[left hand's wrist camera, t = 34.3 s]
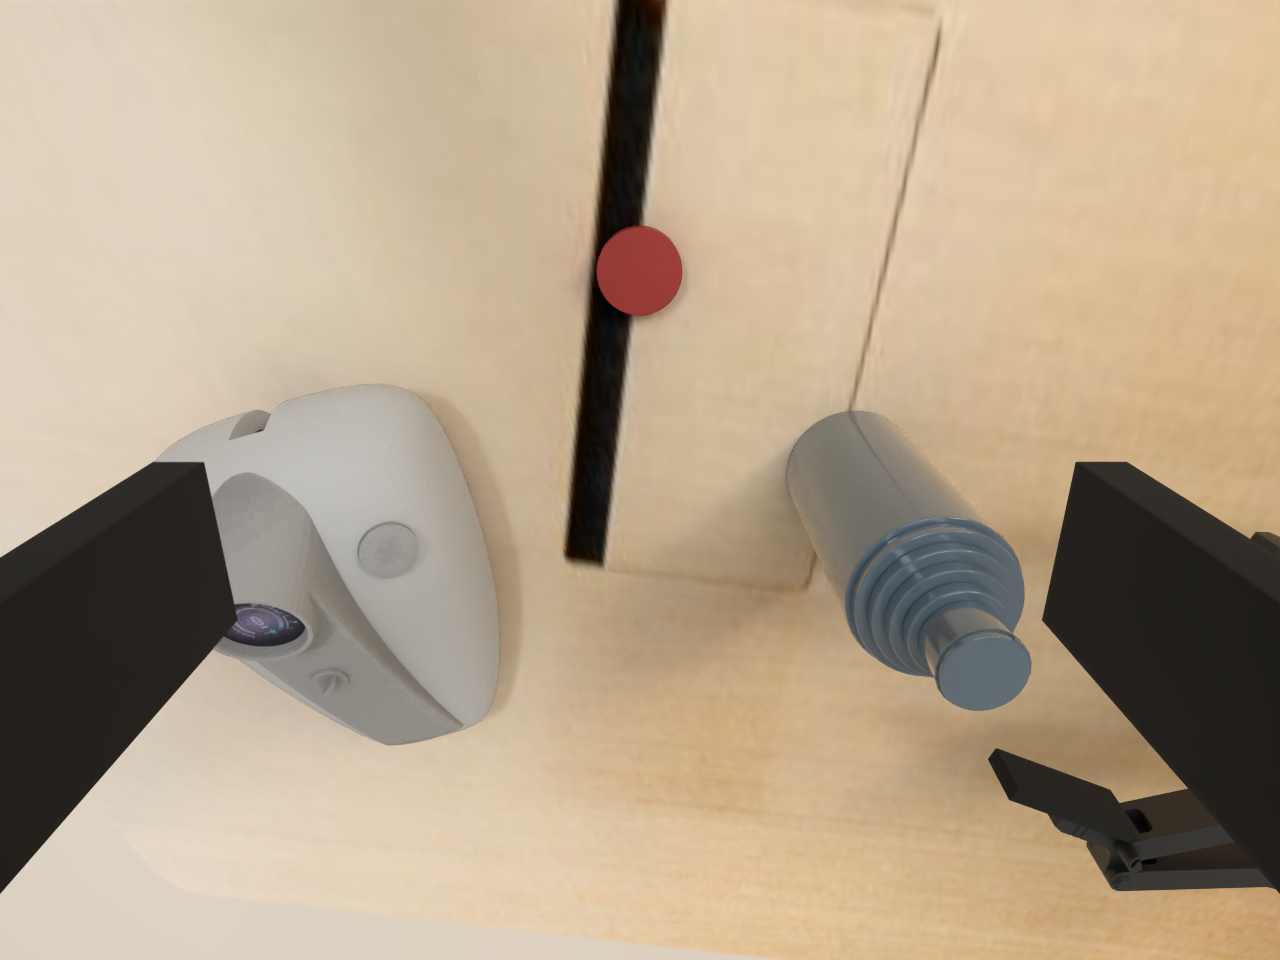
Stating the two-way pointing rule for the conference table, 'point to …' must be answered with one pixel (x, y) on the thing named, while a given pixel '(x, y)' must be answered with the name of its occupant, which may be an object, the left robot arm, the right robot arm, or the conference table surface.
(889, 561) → the bottle
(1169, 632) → the left robot arm
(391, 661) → the projector
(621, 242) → the cap
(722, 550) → the conference table surface
